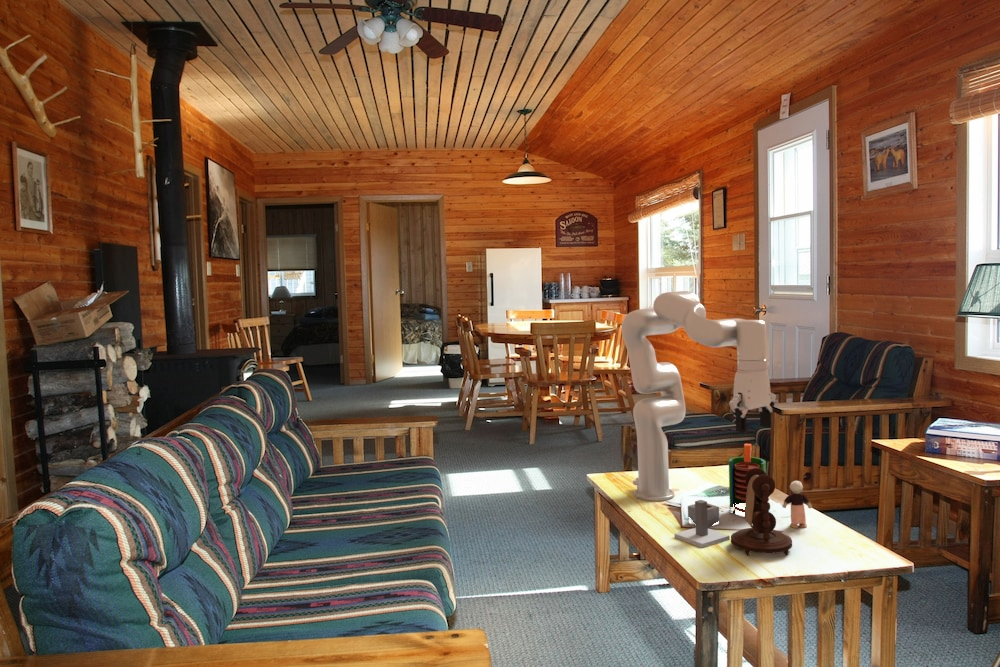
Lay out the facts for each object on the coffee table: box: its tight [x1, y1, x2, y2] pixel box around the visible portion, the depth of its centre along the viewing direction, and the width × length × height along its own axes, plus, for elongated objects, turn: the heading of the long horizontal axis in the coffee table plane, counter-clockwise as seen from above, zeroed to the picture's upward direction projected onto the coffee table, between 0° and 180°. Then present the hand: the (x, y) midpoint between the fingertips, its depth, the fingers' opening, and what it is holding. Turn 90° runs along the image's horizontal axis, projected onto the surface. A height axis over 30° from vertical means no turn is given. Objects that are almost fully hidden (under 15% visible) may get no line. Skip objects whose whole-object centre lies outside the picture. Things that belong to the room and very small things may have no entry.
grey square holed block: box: [687, 502, 720, 529], centre depth 211 cm, size 6×6×5 cm
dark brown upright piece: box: [730, 468, 793, 557], centre depth 190 cm, size 15×15×20 cm
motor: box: [728, 443, 767, 512], centre depth 218 cm, size 10×9×20 cm
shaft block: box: [674, 499, 731, 548], centre depth 199 cm, size 10×10×10 cm
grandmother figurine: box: [781, 480, 813, 529], centre depth 205 cm, size 8×4×13 cm, turn 97°
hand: (753, 429), depth 201 cm, fingers open, 9 cm apart
